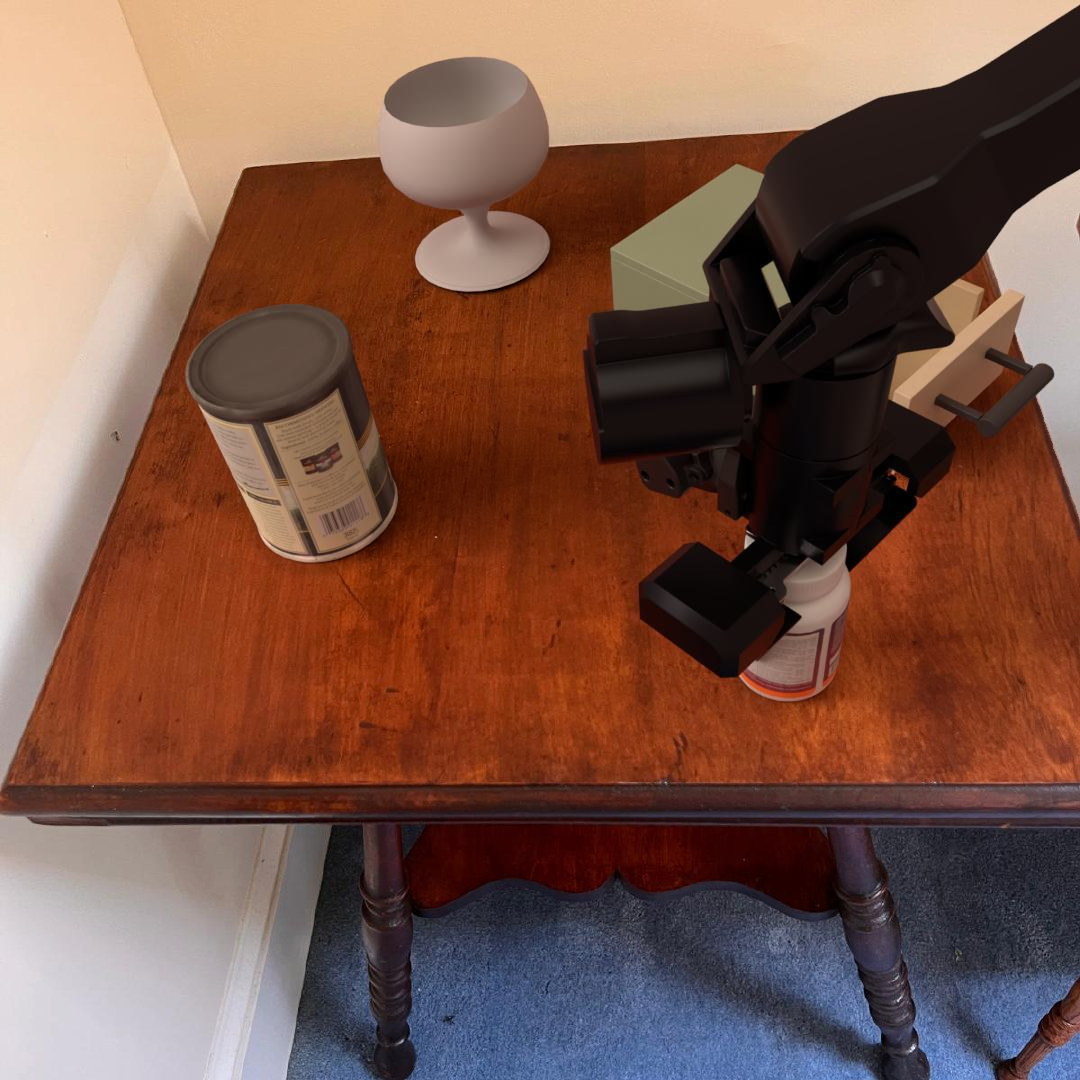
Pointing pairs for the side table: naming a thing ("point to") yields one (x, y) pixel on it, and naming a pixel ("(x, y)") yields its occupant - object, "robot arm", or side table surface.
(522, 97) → the chalice
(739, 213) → the cabinet
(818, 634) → the pill bottle
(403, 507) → the side table surface
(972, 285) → the drawer
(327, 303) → the side table surface
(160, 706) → the side table surface
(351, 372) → the coffee can
